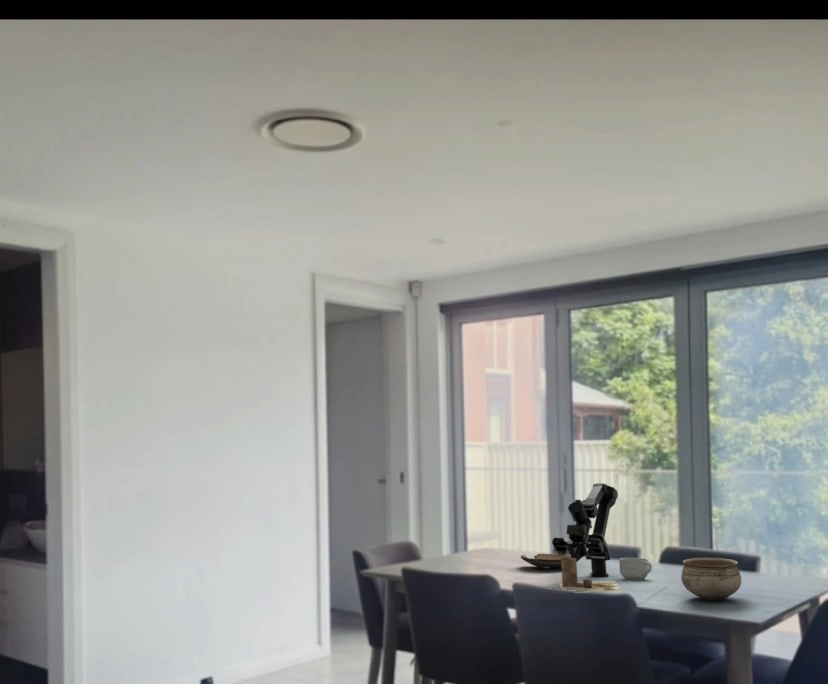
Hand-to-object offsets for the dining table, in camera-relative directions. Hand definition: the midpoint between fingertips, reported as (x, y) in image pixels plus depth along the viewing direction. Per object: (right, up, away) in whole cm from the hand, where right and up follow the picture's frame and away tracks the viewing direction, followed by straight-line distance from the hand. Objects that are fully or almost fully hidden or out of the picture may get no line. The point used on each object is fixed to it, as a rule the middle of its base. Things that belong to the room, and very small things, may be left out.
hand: (572, 563), depth 298 cm
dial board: (+5, -8, -5) cm, 11 cm away
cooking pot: (+41, -4, -30) cm, 51 cm away
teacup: (+26, -9, +9) cm, 29 cm away
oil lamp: (+1, -15, +47) cm, 49 cm away
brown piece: (+4, -7, -7) cm, 10 cm away
